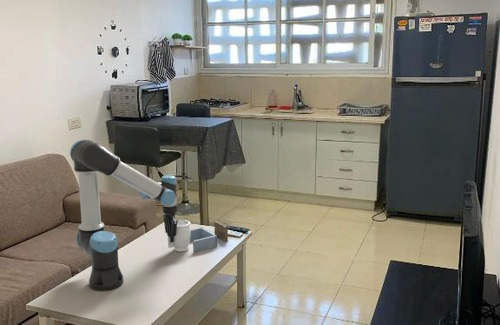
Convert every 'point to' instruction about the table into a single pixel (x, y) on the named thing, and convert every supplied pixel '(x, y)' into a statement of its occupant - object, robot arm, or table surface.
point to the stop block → (221, 231)
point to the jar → (182, 236)
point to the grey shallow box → (206, 241)
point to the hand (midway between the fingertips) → (171, 246)
